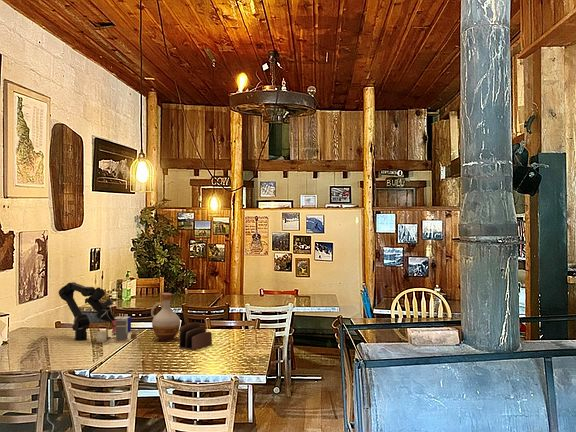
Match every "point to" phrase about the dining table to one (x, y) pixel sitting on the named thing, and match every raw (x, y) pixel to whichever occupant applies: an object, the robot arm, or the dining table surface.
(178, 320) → the jug
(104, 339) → the beige square piece
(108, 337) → the balance
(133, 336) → the block
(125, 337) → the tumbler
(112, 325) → the puzzle cube
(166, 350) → the dining table surface
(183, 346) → the letter holder
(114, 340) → the tile
